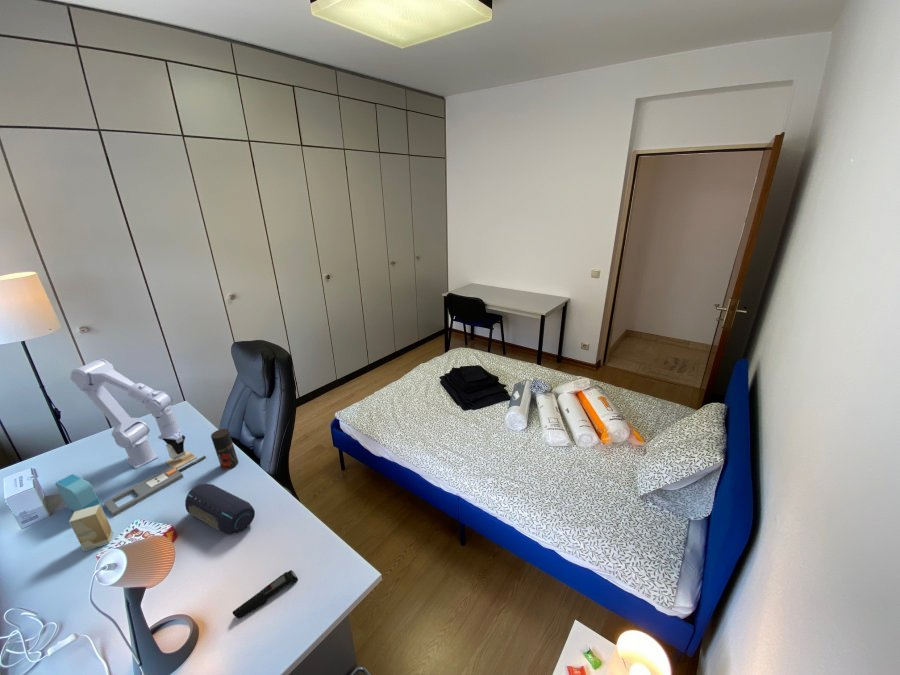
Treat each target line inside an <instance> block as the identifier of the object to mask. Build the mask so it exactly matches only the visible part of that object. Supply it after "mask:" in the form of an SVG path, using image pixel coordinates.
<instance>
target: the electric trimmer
mask: <svg viewBox="0 0 900 675" xmlns="http://www.w3.org/2000/svg"><path fill="white" fill-rule="evenodd" d="M298 580H299V578H298V577H297V575H296V574H295V572H294V571H293V570H291V569H290V570H288V571H285V572H284V573H283V574H281V575H279V576H278V577H277V578H276V579H274V580H273V581H271V582H270V583H269V584H268V585H266V586H265V587H264V588H262V589H261V590H260V591H259V592H257V593H256V594H254V595H253V596H252V597H251V598H250V599H248V600H247V601H245V602H244V603H243V604H241V605H240V606H238V607H237V608H235V609H234V610H233V611H232V615H233V616H234V617H235V618H236V619H242V618H243V617H245V616H247V615H249V614H250V613H252V612H254V611H255V610H258V609H259V608H260V607H262V606H264V605H265V604H266V603H267V602H268V601H269V599H270V598H271V597H273V596H275V595H276V594H277V593H279V592H280V591H281V590H283V589H285V588H286V587H288V585H290V584H291V583H292V584H295V583H297V581H298Z"/></svg>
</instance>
